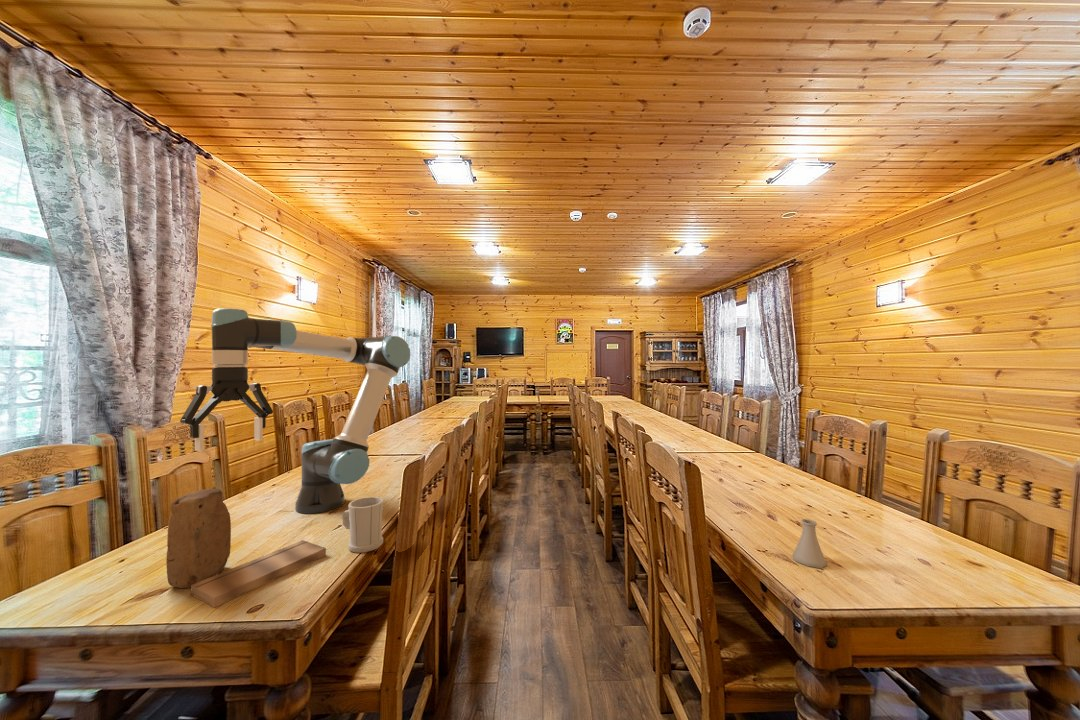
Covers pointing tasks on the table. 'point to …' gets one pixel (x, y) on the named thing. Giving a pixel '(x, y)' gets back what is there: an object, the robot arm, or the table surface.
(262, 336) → the robot arm
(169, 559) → the brown pitted rock
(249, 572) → the board
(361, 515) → the cup
